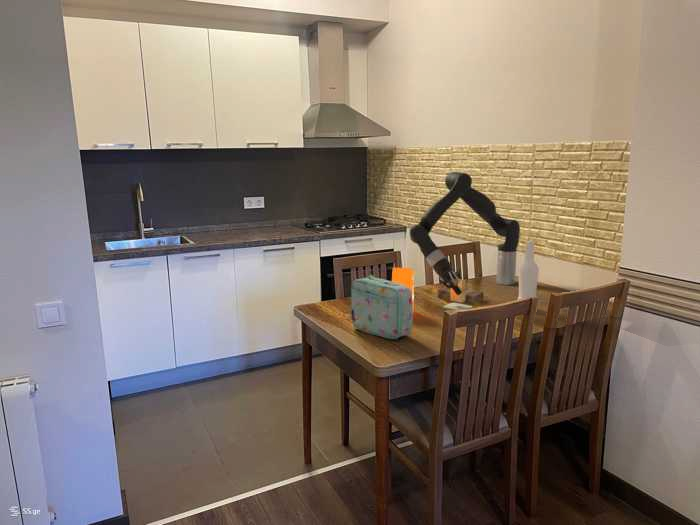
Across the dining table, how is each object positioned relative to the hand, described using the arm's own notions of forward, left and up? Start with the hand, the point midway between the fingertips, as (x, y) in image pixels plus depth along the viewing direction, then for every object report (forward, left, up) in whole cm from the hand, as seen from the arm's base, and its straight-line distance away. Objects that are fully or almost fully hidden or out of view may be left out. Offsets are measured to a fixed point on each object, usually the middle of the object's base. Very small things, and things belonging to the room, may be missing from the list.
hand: (461, 293), depth 217 cm
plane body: (-14, +5, -7) cm, 16 cm away
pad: (-2, -1, -7) cm, 7 cm away
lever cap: (-2, -1, -4) cm, 4 cm away
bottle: (+8, +26, -7) cm, 28 cm away
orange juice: (0, -27, -7) cm, 28 cm away
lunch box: (+21, -42, -7) cm, 47 cm away
